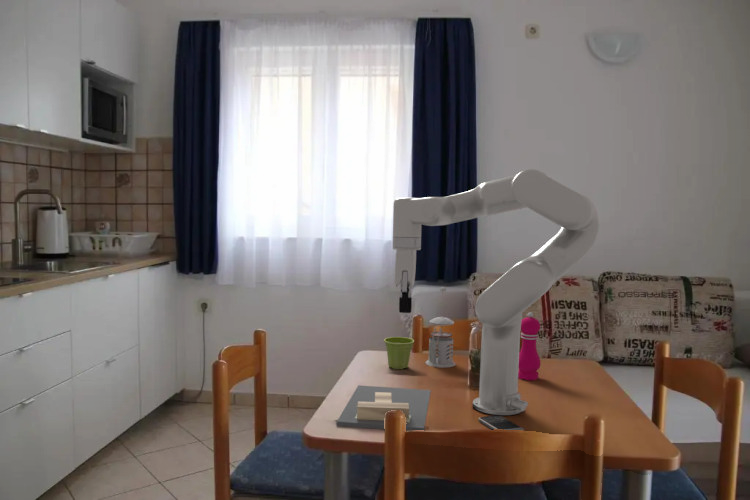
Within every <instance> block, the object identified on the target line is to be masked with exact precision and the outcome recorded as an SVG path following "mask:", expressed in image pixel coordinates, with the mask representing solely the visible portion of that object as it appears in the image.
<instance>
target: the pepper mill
mask: <svg viewBox="0 0 750 500" xmlns="http://www.w3.org/2000/svg"><path fill="white" fill-rule="evenodd" d="M540 330H541V324H540V321H539V320H538V319H537V318H535V317H534V313H533V312H531V311H530V312H528V313H527V317H526V316H525V317H524V318H522V321H521V330H520V339H521V340H522V342H521V343H522V344H521V348H520V350H519V367H518V379H520V380H523V379H525V380H524V381H537V380H538V379H539V372H538V370H539V369H540V368H541V359H540V356H539V352H538V350H537V340H538V339H539V334H538V332H539V331H540ZM536 379H537V380H536Z"/></svg>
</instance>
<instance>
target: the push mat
mask: <svg viewBox="0 0 750 500" xmlns="http://www.w3.org/2000/svg"><path fill="white" fill-rule="evenodd" d="M375 392H385V393H391V399H392V403H409V421H406V423H407V424H406V430H424V431H425V429H426V426H425V425H426V420H427V414H428V409H429V403H430V397H431V390H430V389H419V388H404V387H403V388H402V387H391V386H390V387H389V386H375V385H374V386H373V385H372V386H371V385H361V384H360V385H357V387H356V389H355V390H354V392H353V393H352V395H351V397H350V399H349V400H348V402H347V403H346V406H345V407H344V408H343V410H342V412H341V414H340V415H339V417H338V419H337V420H336V426H337V427H346V428H348V427H349V428H360V429H361V428H362V429H363V428H364V429H375V430H385V429H384V420H357V406H358V402H375Z"/></svg>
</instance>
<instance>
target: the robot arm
mask: <svg viewBox="0 0 750 500" xmlns="http://www.w3.org/2000/svg"><path fill="white" fill-rule="evenodd" d="M526 208H528V209H529V210H531V211H533V212H535V213H536V214H538V215H540V216H542V217H544V218H546V220H549V221H550V222H553V223H555V225H558V226H559V227H561V228H560V229H559V231H558V232H557V233H556V234H554V235H553V237H552V238H550V239H549V240H547V242H545V244H544V245H542V246H541V247H540V248H539V249H538V250H537V251H535V252H534V253H533V254H531V255H530V256H528V257H526V258H524V259H522V260H520V261H518V262H517V263H515V264H514V265H513V266H512V267H510V268H509V269H508V270H507V271H506V272H505V273H504V274H502V275H501V276H500V277H499V278H498V279H496V281H494V282H493V283H492V284H491V285H490V286H488V287H487V288H486V289H485V290H484V291H482V292H481V294H479V296H478V297H477V300H476V302H475V308H474V309H475V315H476V317H477V319H478V321H479V322H480V323H481V324H482V330H481V342H480V344H481V345H480V364H479V366H480V367H479V369H480V370H479V389H478V390H479V392H478V397H475V398H474V399H473V401H472V407H473V408H474V409H475V410H477V411H479V412H481V413H485V414H489V415H493V416H494V415H499V416H512V415H518V414H520V413H522V412H524V411H526V409H527V407H528V405H529V403H528V401H526V400H522V398H521V393H520V392H518V388H519V387H518V386H519V378H518V370H519V368H518V367H519V353H520V349H521V348H520V344H521V343H520V341H521V321H522V319H523V312H524V311H527V309H528V308H529V307H531V306H532V305H533V304H534V303H535V302H536V301H538V300H539V299H540V298H541V297H543V295H545V294H546V293H547V292H548V291H549V290H550V289H551V287H552V286H553V285H554V284H555V283H556V282H557V281H558V280H560V279H561V278H562V277H563V276H564V275H565V274H567V273H568V272H569V271H570V270H571V269H572V268H573V267H574V266H575V265H577V264H578V263H579V262H580V261H581V260H582V259H584V257H585V256H587V254H588V253H589V251H590V250H591V249H592V248H593V246H594V244H595V242H596V240H597V236H598V232H599V217H598V212H597V209H596V206H595V204H594V202H593V201H592V200H591V198H590V197H589V196H586V195H584V194H581V193H579V192H577V191H576V190H574V189H571V188H569V187H567V186H566V185H564V184H562V183H560V182H558V181H556V180H555V179H553V178H551V177H549V176H548V175H547V174H546V173H544V172H543V171H540V169H539V170H538V169H535V168H528V169H527V168H526V169H523V170H522V171H519V173H517V174H514V175H509V176H505V177H503V178H499V179H493V180H489V181H485V182H482V183H480V184H478V185H477V186H476V187H475V188H473V189H470V190H468V191H464V192H460V193H455V194H451V195H448V196H427V197H426V196H425V197H409V196H408V197H405V196H404V197H403V196H402V197H401V196H400V197H396V198H395V199H394V201H393V210H392V211H393V212H392V213H393V214H392V215H393V217H392V250H396V252H395V263H394V266H395V267H394V287H395V288H397V287H399V303H398V306H399V307H398V309H399V310H398V312H399V313H400V314H401V313H402V314H410V313H412V305H413V303H412V302H413V301H412V300H413V297H412V287H414V285H415V281H416V269H417V267H416V265H417V251H421V249H422V225H423V226H427V227H428V226H429V227H435V226H436V227H437V226H447V225H451V224H454V223H460V222H464V221H469V220H473V219H477V218H478V219H479V218H484V217H485V218H486V217H490V216H495V215H499V214H504V213H507V212H512V211H516V210H522V209H526Z"/></svg>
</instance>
